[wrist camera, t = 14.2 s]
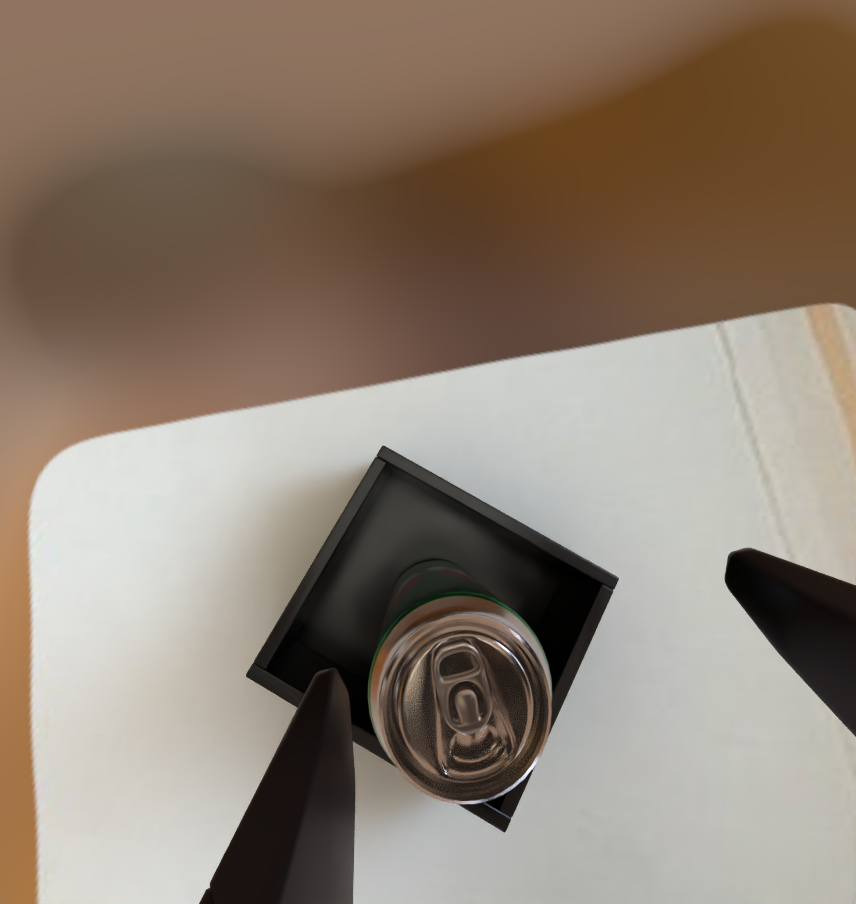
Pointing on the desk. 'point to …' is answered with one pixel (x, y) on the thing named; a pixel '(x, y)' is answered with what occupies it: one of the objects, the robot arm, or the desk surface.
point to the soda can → (458, 687)
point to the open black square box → (393, 553)
